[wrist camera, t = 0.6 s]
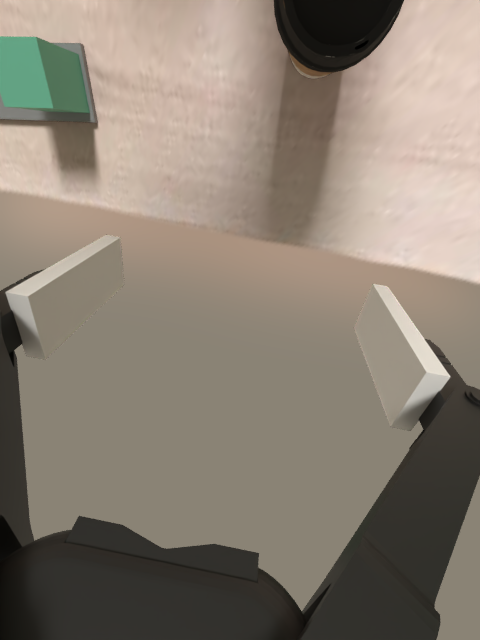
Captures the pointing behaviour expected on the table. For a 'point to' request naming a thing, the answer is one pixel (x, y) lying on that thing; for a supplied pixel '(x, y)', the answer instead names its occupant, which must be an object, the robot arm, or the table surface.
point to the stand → (44, 81)
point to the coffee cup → (333, 31)
